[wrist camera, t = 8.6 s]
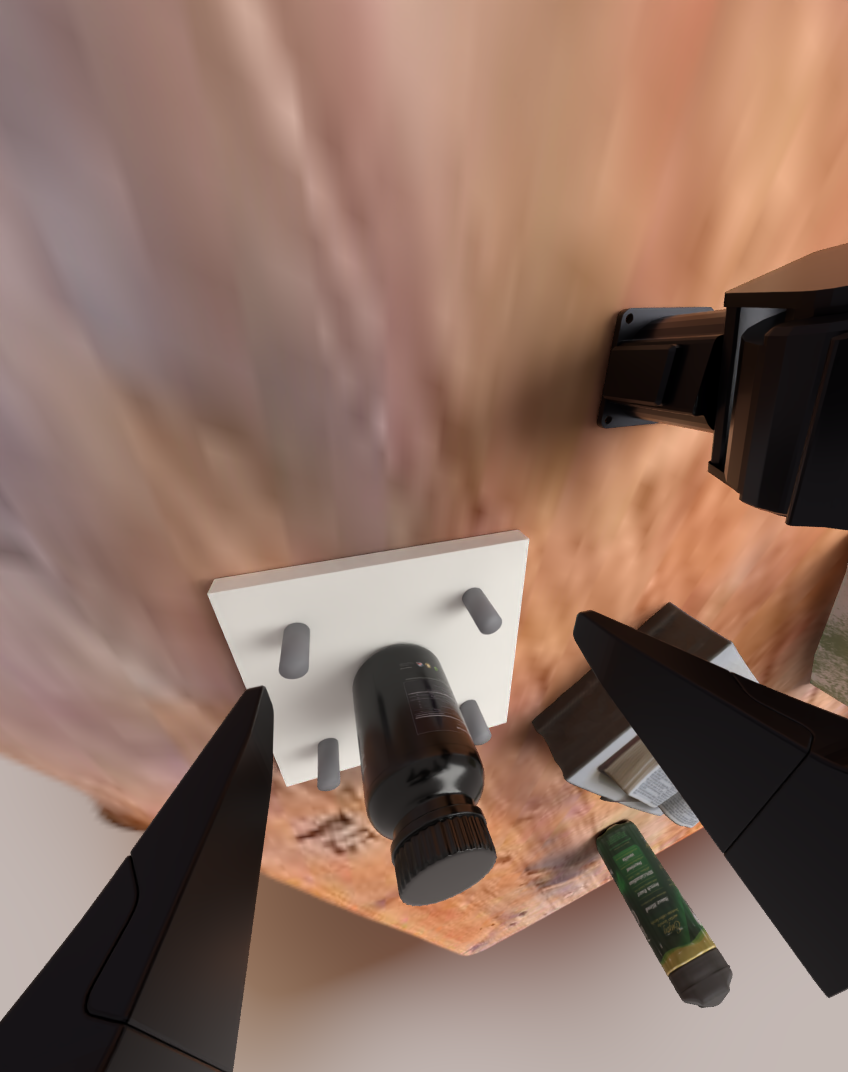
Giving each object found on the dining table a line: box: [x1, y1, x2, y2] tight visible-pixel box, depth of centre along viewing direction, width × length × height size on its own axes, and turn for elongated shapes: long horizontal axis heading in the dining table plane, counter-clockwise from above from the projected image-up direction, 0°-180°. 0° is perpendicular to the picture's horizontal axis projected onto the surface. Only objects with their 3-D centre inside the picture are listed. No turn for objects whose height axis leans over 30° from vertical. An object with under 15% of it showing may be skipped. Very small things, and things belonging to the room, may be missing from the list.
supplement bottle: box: [352, 644, 497, 906], centre depth 21 cm, size 7×7×12 cm
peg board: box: [207, 530, 529, 791], centre depth 25 cm, size 20×20×4 cm
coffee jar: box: [596, 821, 732, 1008], centre depth 52 cm, size 10×8×19 cm
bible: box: [532, 602, 760, 828], centre depth 37 cm, size 23×27×10 cm
